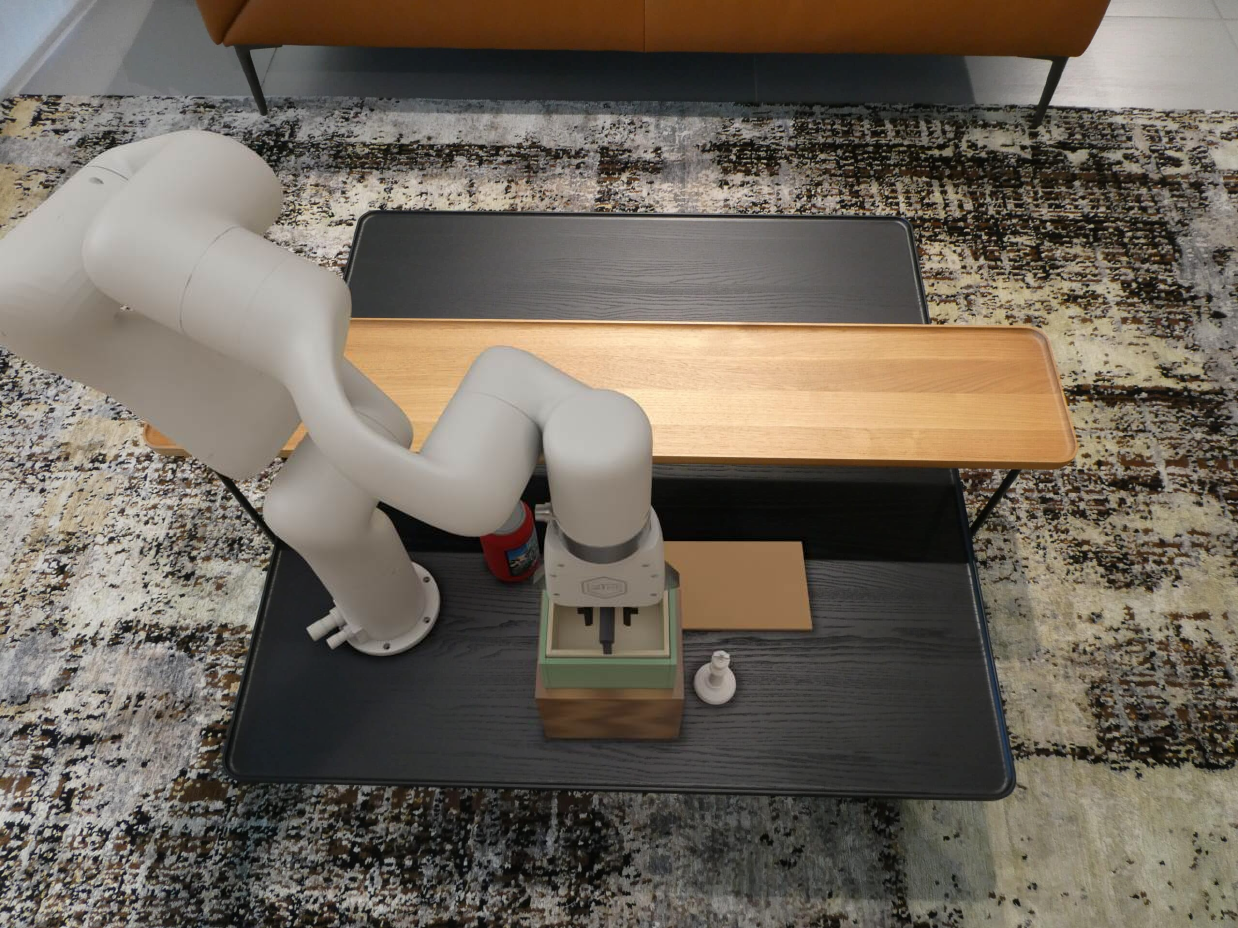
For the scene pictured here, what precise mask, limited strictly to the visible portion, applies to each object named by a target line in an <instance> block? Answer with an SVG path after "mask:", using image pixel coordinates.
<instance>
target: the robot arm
mask: <svg viewBox="0 0 1238 928" xmlns="http://www.w3.org/2000/svg"><path fill="white" fill-rule="evenodd" d="M284 202H285V199H284V190H283V186H282V184H281V182H280V180H279V178H278V176H277V175H276V172H274V169H273V168H271V166H270V165H269V164H268V162H266V160H265V159H263V158H262V157H261V156H260V155H259V154H258V153H257V152H256V151H254V150H253V149H251V148H250V147H248V146H246V145H245V144H244V143H242V142H240V141H238V140H235V139H234V138H232V137H229V136H226V135H224V134H221V133H219V132H218V133H217V132H213V131H209V130H201V129H183V130H176V131H171V132H167V133H163V134H160V135H156V136H152V137H148V138H145V139H141V140H137V141H133V142H129V143H124V144H121V145H118V146H115V147H111V148H109V149H107V150H105V151H103V152H102V153H100V154H98V155H97V156H95V157H94V158H92V159H91V160H90V161H89V162H87V163H86V164H85V165H84V166H83V167H81V168H80V169H79V170H78V171H76V173H74V174H73V175H72V176H71V177H70V178H69V179H68V180H66V181H65V183H64V184H62V185H61V186H60V187H59V188H57V190H56V191H55V192H53V193H52V194H51V195H50V196H49V197H47V199H45V200H44V202H42V203H41V204H39V205H38V206H37V207H36V208H34V210H32V211H31V212H30V213H28V214H27V215H26V216H25V217H24V218H23V219H22V220H20V221H19V222H18V224H16V225H15V226H14V227H13V228H12V229H11V230H10V231H9V232H7V234H5V235H4V237H2V238H1V239H0V346H1V347H3V348H4V349H5V350H7V351H8V352H9V353H12V355H14V356H16V357H18V358H20V359H22V360H24V362H27V363H29V364H31V365H33V366H34V367H37V368H40V369H42V370H44V371H47V372H49V373H52V374H54V375H57V376H59V377H62V378H66V379H68V380H69V381H70V380H71V381H73V382H76V383H78V384H80V385H84V386H86V387H88V388H90V389H93V390H94V391H97V392H99V393H101V394H103V395H105V396H107V397H109V398H110V399H112V400H113V401H115V402H117V403H118V404H120V405H121V406H122V407H124V408H125V409H126V410H128V411H130V413H132V414H133V415H135V416H136V417H137V418H139V419H140V420H142V421H143V422H144V423H146V424H147V425H148V426H150V427H151V428H153V429H154V430H156V431H157V432H158V433H160V434H161V435H162V436H163V437H165V438H167V439H168V440H169V441H171V442H172V443H174V444H175V445H177V446H178V447H179V448H181V449H182V450H184V451H185V452H186V453H187V454H189V455H191V456H192V457H193V458H195V459H196V460H198V461H199V462H201V463H202V464H204V465H205V466H207V467H208V468H210V469H212V470H213V471H215V472H217V473H218V474H219V475H222V476H225V477H226V478H227V477H228V478H229V479H234V480H240V481H243V480H250V479H253V478H255V477H257V476H259V475H260V474H262V473H263V472H264V471H265V470H266V469H268V468H269V466H270V465H271V464H272V463H273V462H274V461H275V459H276V458H277V457H278V456H279V455H280V453H281V452H282V450H283V449H284V448H285V446H286V445H287V444H288V442H289V441H290V439H291V438H292V437H293V436H294V434H295V433H296V431H297V430H298V428H299V427H300V426H301V425H302V424H303V426H304V428H305V429H306V432H305V434H304V435H303V437H302V438H301V440H300V441H298V443H297V444H296V446H295V447H294V449H293V450H292V452H291V453H290V454H289V456H288V457H287V459H286V460H285V462H284V463H283V464H282V466H281V467H280V468H279V470H278V472H277V473H276V475H275V476H274V478H273V480H272V482H271V483H270V485H269V487H268V490H267V492H266V494H265V497H264V500H263V505H262V515H263V518H264V522H265V523H266V525H267V526H268V528H269V529H270V530H271V531H272V533H274V534H275V535H276V536H277V537H278V538H279V539H280V540H282V541H283V542H284V543H285V544H287V545H288V546H289V547H290V548H292V549H293V550H294V551H295V552H297V553H298V554H299V555H300V556H301V557H302V558H303V559H304V560H305V562H306V563H307V564H308V565H309V566H310V568H311V570H312V571H313V572H314V573H315V575H316V576H317V578H319V580H320V582H321V583H322V584H323V586H324V587H325V589H326V590H327V591H328V593H329V594H330V596H331V597H332V602H333V603H334V605H335V606H334V607H333V608H332V609H329V614H328V615H326V616H324V617H323V618H321V619H318V620H317V621H315V622H314V623H312V624H310V625H308V626H307V627H306V630H307V632H308V634H309V635H310V637H311V638H312V640H313V641H314V642H316V641H318V640H320V639H321V638H323V637H324V636H326V635H328V634H329V632H331V631H333V630H334V629H336V628H337V627H338V629H339V631H338V632H337V633H335V634H333V635H331V636H330V637H328V638H327V639H326V642H327V644H328V646H329V647H330V649H331V651H332V650H335V649H336V648H337V647H339V646H341V645H342V644H343V643H344V642H345V641H347V643H349V644H350V646H352V647H353V648H354V649H356V650H357V651H359V652H361V653H364V654H367V655H370V656H377V657H378V656H379V657H385V656H393V655H397V654H400V653H403V652H405V651H407V650H410V649H412V648H413V647H414V646H417V644H419V643H420V642H421V641H422V640H423V639H424V638H426V637H427V635H428V634H429V633H430V631H432V629H433V628H434V626H435V624H436V621H437V620H438V617H439V613H440V609H441V596H440V590H439V588H438V585H437V583H436V581H435V579H434V577H433V576H432V575H431V573H430V572H429V570H427V569H426V568H425V567H423V566H422V565H420V564H418V563H416V562H414V561H412V560H411V558H410V556H409V553H408V552H407V550H406V548H405V546H404V543H403V542H402V540H401V537H400V535H399V533H398V531H397V529H396V528H395V526H394V523H393V521H392V520H391V519H390V517H389V516H388V515H387V514H386V513H385V512H384V511H383V510H381V509H380V508H378V504H379V503H380V502H381V503H384V504H386V505H388V506H390V507H392V508H394V509H396V510H398V511H400V512H402V513H404V514H405V515H408V516H411V517H412V518H415V519H417V520H419V521H421V522H423V523H425V524H428V525H429V526H432V527H435V528H437V529H440V530H443V531H445V532H448V533H450V534H454V535H457V536H463V537H479V536H484V535H487V534H490V533H492V532H494V531H496V530H498V529H499V528H500V527H501V526H502V525H503V524H504V523H505V522H506V521H507V520H508V518H509V517H510V516H511V514H512V512H513V511H514V509H515V507H516V505H517V503H518V501H519V500H521V497H522V495H523V494H524V491H525V489H526V487H527V486H528V483H529V481H530V479H531V477H532V476H533V473H534V471H535V469H536V467H537V465H538V463H539V461H540V459H541V458H542V459H544V463H545V469H546V475H547V482H548V488H549V493H550V500H549V502H545V503H542V504H535V506H534V507H535V509H534V516H535V517H534V518H535V519H534V521H535V522H544V523H545V524H547V527H546V532H545V537H544V546H543V561H544V562H543V563H542V564H541V565H540V566H539V567H537V568H536V569H535V571H534V572H533V578H532V579H533V581H532V587H534V588H535V589H540V590H542V589H544V590H547V594H548V597H549V599H550V600H551V601H552V602H554V603H556V604H558V605H563V606H574V607H577V612H578V614H584V619H585V626H591V625H593V607H623V625H625V626H631V614H638V607H641V606H650V605H654V604H656V603H658V602H659V601H661V600H662V598H663V594H664V591H666V590H671V589H675V588H679V587H680V574H679V572H678V571H676V570H675V569H674V568H673V567H672V566H671V565H670V564H669V563H668V562H666V561H665V560H664V544H663V541H664V537H663V531H662V527H661V524H660V520H659V517H658V515H657V513H656V511H655V509H654V508H653V506H652V504H651V503H652V484H653V483H652V481H653V453H654V437H653V427H652V425H651V421H650V419H649V417H648V415H647V414H646V411H645V410H644V408H642V406H641V405H640V404H639V402H637V401H635V399H633V398H631V397H630V396H628V395H627V394H624V393H622V392H620V391H618V390H613V389H609V388H599V387H597V388H594V387H593V386H590V385H589V384H586V383H584V382H582V381H581V380H578V379H576V378H575V377H573V376H571V375H570V374H567V373H566V372H564V371H563V370H561V369H559V368H558V367H556V366H554V365H553V364H550V363H548V362H547V361H546V360H544V359H542V358H540V357H538V356H536V355H535V354H534V353H532V352H529V351H527V350H525V349H521V348H518V347H515V346H511V345H500V344H499V345H493V346H490V347H488V348H486V349H484V350H483V351H481V353H480V354H479V355H477V357H476V358H475V359H474V361H473V362H472V363H471V365H470V367H469V368H468V370H467V371H466V373H465V375H464V377H463V378H462V380H461V382H460V383H459V385H458V387H457V388H456V390H455V392H454V393H453V395H452V397H451V398H450V400H449V401H448V402H447V404H446V406H445V408H444V409H443V411H442V412H441V414H440V416H439V417H438V419H437V421H436V422H435V424H434V425H433V428H432V429H431V430H430V432H429V434H428V436H427V437H426V439H425V440H424V442H423V443H422V445H421V447H420V448H419V450H418V452H415V451H414V450H411V447H412V445H413V442H414V436H415V434H414V427H413V424H412V422H411V420H410V419H409V417H408V415H407V414H406V413H405V411H404V410H403V409H402V408H401V407H400V406H399V405H398V404H397V403H396V402H395V401H394V400H393V399H392V398H391V397H389V396H388V394H386V393H385V392H384V391H383V390H382V389H381V388H380V387H379V386H378V385H376V384H375V383H374V382H373V381H372V380H371V379H370V378H369V377H367V375H366V374H364V373H363V372H362V371H361V370H360V369H359V368H358V367H356V366H355V365H354V364H353V363H352V362H351V361H350V360H349V359H348V358H347V357H345V356H344V355H345V351H346V345H347V341H348V335H349V330H350V326H351V318H352V311H353V310H352V308H353V307H352V306H353V305H352V295H351V291H350V288H349V286H348V284H347V282H346V281H345V280H344V279H343V278H342V277H341V276H340V275H338V274H337V273H335V272H334V271H331V270H329V269H327V268H326V267H323V266H321V265H319V264H316V263H315V262H313V261H311V260H309V259H307V258H304V257H303V256H301V255H298V254H297V253H295V252H294V251H293V252H292V251H291V250H288V249H287V248H285V247H283V246H281V245H279V244H277V243H275V242H272V241H271V240H269V239H268V238H265V237H263V236H264V235H265V234H266V232H268V230H269V229H270V228H271V227H272V226H273V224H274V223H275V222H277V219H278V218H279V217H280V215H281V213H282V211H283V207H284V204H285V203H284ZM123 307H125V308H128V309H122V308H123Z"/></svg>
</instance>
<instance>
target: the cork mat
mask: <svg viewBox="0 0 1238 928" xmlns="http://www.w3.org/2000/svg"><path fill="white" fill-rule="evenodd" d="M663 544H664V560H665V561H666V562H668V563H669V564H670V565H671V566H672V567H673V568H674V569H675V570H676V571H678V572H679V574H680V587H679V588H675V589H680V590H681V613H682V631H794V632H795V631H801V632H803V631H807V632H808V631H809V632H811V631H812V630H813V621H812V614H811V605H810V599H809V591H808V590H809V589H808V581H807V574H806V566H805V559H804V550H803V543H802V541H698V540H697V541H677V540H676V541H671V540H670V541H668V540H666V541H664V540H663Z"/></svg>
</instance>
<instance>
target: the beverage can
mask: <svg viewBox="0 0 1238 928" xmlns="http://www.w3.org/2000/svg"><path fill="white" fill-rule="evenodd" d="M478 538H479V541H480V543H481V547H482V550H483V554H484V556H485V560H486V562H487V565H488V568H489V570H490V572H491V573H492V574H493V575H494V576H495V577H497V578H498V579H499V580H502V581H506V582H519V581H522V580H525V579H526V578H528V577H530V576H531V575H532V574H534V572H535V571H536V570H537V569H538V566H539V564H540V560H541V553H540V547H539V541H538V536H537V530H536V526H535V520H534V516H533V513H532V511H531V508H530V507H529V505H528V504H527V503H525V502H524V501H523V500H522V499H519V501H518V503H517V505H516V507H515V509H514V511H513V512H512V514H511V516H510V517H509V518H508V520H507V521H506V522H505V523H504V524H503V525H502V526H501V527H500V528H499V529H498V530H496V531H494V532H492V533H490V534H487V535H484V536H478Z"/></svg>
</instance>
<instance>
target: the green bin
mask: <svg viewBox="0 0 1238 928" xmlns="http://www.w3.org/2000/svg"><path fill="white" fill-rule="evenodd" d="M668 608H669V649H670V656H669V659H648V658H547V656H546V645H547V628H548V612H549V597H548V594H547V590H544V589H543V604H542V620H541V635H540V650H539V667H540V671H541V674H542V678H543V682H544V686H545V688H552V689H674V685H675V677H676V669H677V645H676V611H675V589H671V590H668Z"/></svg>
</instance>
